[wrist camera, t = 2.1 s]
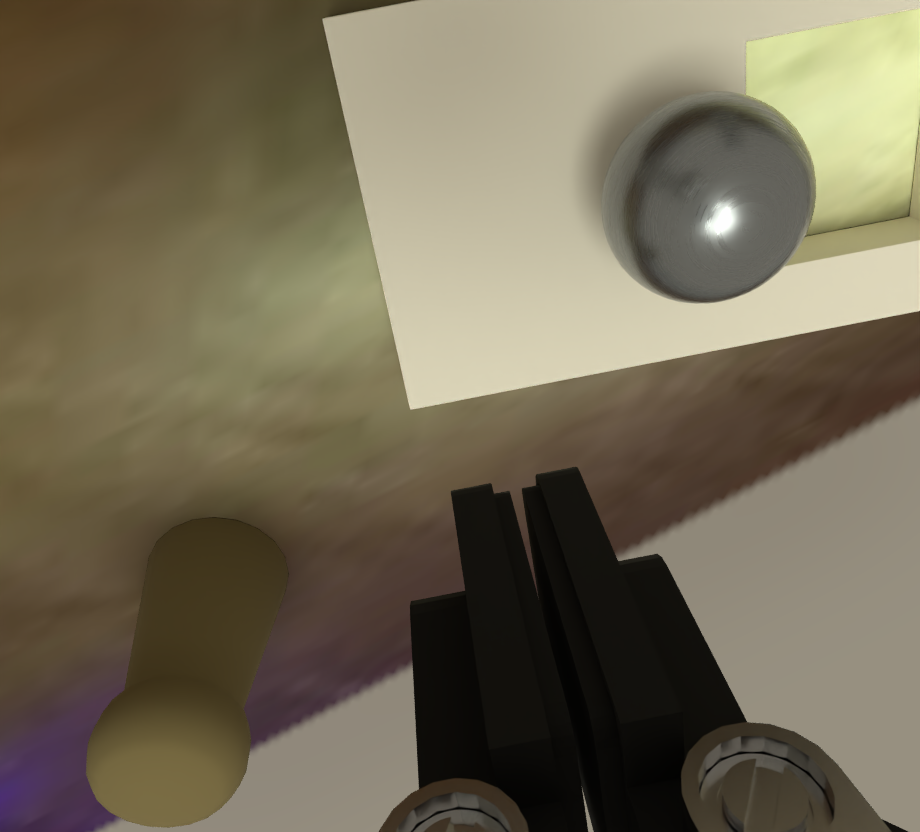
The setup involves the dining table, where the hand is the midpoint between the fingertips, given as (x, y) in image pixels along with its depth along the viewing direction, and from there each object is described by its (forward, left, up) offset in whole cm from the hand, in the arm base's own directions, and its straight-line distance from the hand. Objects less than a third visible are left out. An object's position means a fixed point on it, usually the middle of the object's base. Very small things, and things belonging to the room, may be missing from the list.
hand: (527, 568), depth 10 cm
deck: (0, +9, -20) cm, 22 cm away
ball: (0, +8, -14) cm, 16 cm away
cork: (+14, -12, -20) cm, 27 cm away
